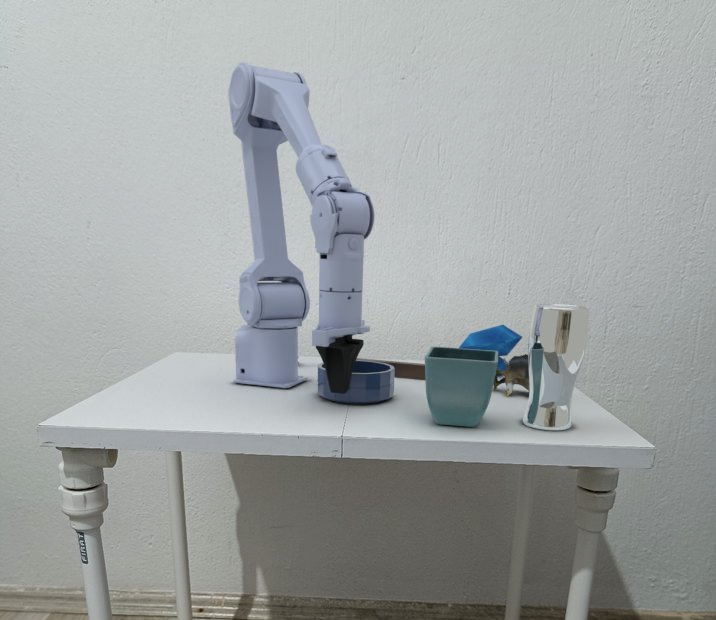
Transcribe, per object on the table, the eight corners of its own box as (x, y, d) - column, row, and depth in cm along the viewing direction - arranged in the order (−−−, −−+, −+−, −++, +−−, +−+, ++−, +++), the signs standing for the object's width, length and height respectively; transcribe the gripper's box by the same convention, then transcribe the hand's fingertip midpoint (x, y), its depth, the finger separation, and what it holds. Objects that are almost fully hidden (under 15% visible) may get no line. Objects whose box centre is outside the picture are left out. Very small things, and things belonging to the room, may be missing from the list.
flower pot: (491, 433, 81) (498, 360, 78) (419, 428, 83) (424, 356, 80) (491, 416, 89) (498, 350, 86) (426, 411, 91) (431, 346, 88)
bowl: (305, 400, 95) (305, 369, 94) (333, 386, 105) (334, 357, 104) (379, 408, 92) (381, 376, 90) (401, 393, 102) (403, 363, 100)
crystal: (452, 330, 121) (519, 318, 118) (459, 377, 124) (525, 366, 121) (450, 336, 114) (521, 323, 111) (458, 385, 117) (527, 373, 114)
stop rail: (345, 372, 117) (346, 358, 116) (348, 370, 118) (349, 357, 117) (434, 380, 112) (435, 366, 111) (436, 379, 113) (437, 365, 112)
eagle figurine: (477, 387, 102) (533, 385, 96) (485, 345, 103) (541, 341, 98) (496, 407, 107) (550, 406, 102) (504, 367, 109) (557, 364, 104)
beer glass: (512, 417, 89) (525, 303, 84) (562, 417, 90) (578, 304, 85) (529, 431, 83) (544, 308, 78) (582, 431, 84) (601, 309, 78)
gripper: (350, 295, 79) (347, 406, 84) (386, 289, 92) (382, 385, 97) (296, 292, 82) (296, 400, 86) (338, 286, 95) (337, 380, 99)
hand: (338, 392), depth 92 cm, fingers closed
